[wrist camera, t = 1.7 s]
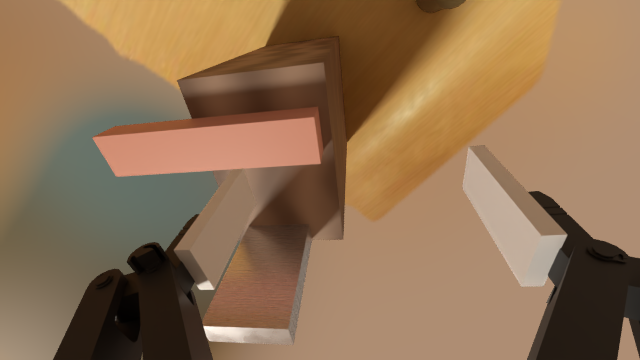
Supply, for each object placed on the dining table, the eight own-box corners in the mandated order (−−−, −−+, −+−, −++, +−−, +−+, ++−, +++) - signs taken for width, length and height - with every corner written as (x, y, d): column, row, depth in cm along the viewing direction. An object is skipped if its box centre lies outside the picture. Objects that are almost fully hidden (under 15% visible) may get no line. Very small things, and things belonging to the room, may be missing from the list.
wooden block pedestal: (286, 146, 61) (240, 241, 36) (264, 46, 50) (176, 80, 25) (346, 142, 59) (343, 239, 34) (338, 36, 48) (323, 62, 23)
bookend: (253, 239, 35) (209, 341, 24) (248, 225, 34) (199, 326, 23) (312, 238, 34) (293, 344, 23) (309, 224, 33) (288, 329, 22)
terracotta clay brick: (135, 163, 31) (116, 176, 28) (115, 126, 28) (92, 137, 26) (323, 149, 27) (320, 163, 25) (317, 106, 25) (314, 117, 22)
